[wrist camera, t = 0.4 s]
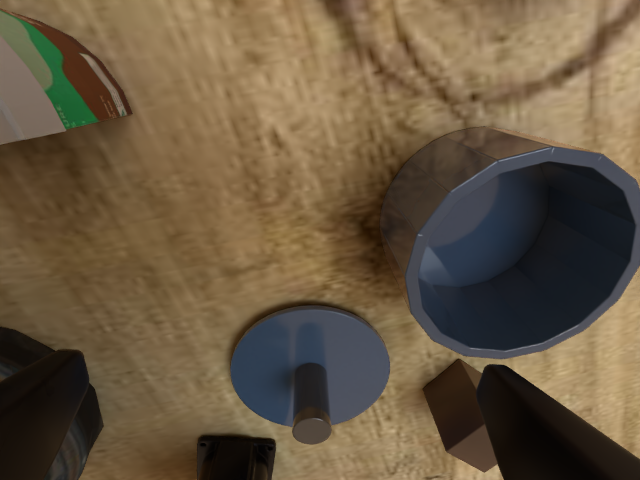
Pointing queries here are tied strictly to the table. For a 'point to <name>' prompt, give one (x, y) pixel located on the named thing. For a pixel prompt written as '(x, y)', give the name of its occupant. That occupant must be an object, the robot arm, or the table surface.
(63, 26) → the table surface
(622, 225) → the tin
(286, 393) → the lid
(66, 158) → the table surface
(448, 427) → the block
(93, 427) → the beer stein
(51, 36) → the food container
